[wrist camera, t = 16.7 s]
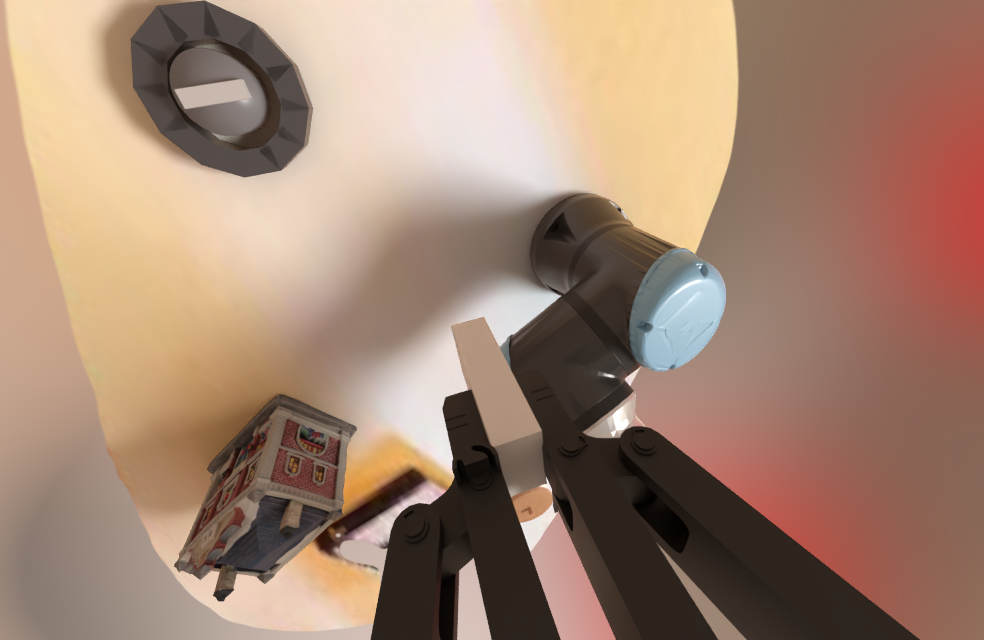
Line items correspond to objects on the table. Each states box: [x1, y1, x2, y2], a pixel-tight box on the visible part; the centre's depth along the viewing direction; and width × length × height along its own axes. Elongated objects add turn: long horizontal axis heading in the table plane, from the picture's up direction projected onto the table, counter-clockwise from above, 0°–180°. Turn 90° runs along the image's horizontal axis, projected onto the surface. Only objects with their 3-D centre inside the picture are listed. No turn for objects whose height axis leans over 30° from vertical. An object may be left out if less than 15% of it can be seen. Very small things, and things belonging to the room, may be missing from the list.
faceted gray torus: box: [131, 1, 313, 177], centre depth 32 cm, size 13×13×2 cm
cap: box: [169, 48, 270, 136], centre depth 31 cm, size 6×6×5 cm
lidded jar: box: [511, 484, 553, 522], centre depth 75 cm, size 11×11×9 cm
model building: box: [174, 395, 357, 601], centre depth 48 cm, size 19×14×20 cm
